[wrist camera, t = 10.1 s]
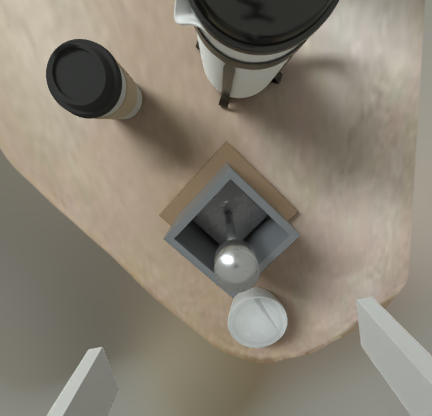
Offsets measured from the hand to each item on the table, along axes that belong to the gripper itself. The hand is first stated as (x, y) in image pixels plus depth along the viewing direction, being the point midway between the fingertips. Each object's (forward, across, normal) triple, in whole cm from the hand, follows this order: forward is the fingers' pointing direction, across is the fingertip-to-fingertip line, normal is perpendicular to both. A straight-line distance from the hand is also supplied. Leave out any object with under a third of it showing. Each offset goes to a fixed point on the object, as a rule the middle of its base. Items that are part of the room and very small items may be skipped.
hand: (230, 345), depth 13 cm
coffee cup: (+37, -13, +21) cm, 44 cm away
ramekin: (+36, +2, -23) cm, 43 cm away
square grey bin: (+36, +1, -2) cm, 36 cm away
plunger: (+33, +1, -2) cm, 33 cm away
